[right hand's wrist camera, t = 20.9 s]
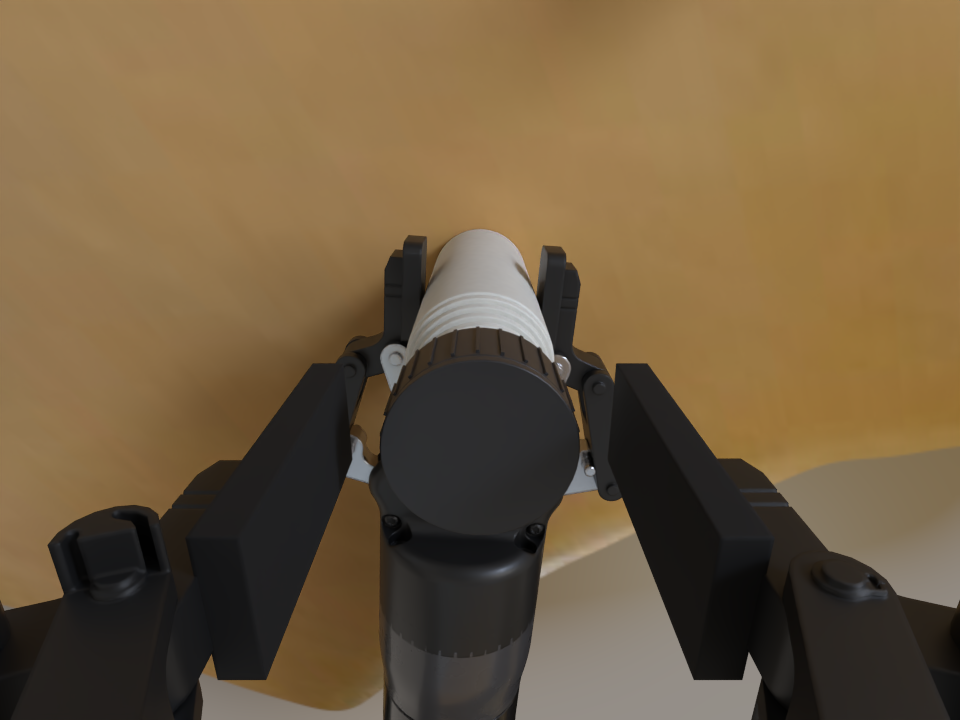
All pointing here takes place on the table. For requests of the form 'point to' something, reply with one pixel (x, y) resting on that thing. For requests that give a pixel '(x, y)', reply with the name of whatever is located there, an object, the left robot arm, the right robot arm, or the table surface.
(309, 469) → the right robot arm
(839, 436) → the table surface
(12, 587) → the table surface
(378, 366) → the left robot arm
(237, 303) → the table surface
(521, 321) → the bottle
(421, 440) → the cap
